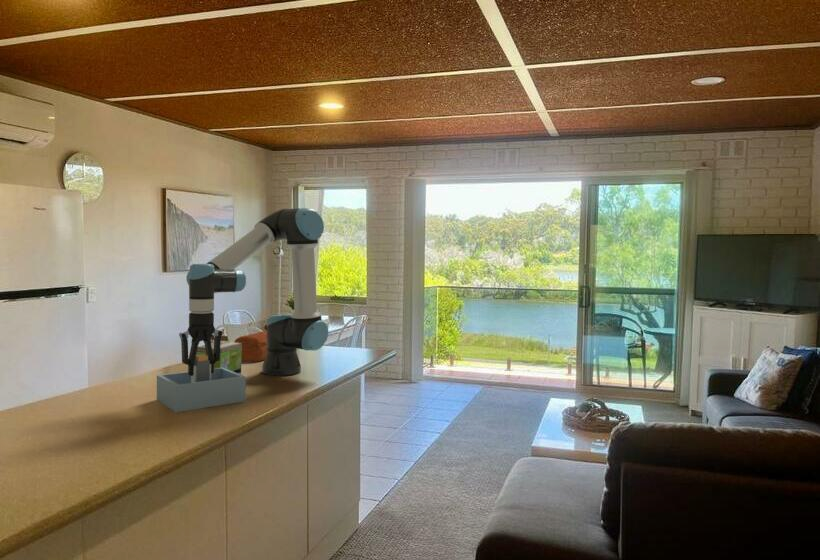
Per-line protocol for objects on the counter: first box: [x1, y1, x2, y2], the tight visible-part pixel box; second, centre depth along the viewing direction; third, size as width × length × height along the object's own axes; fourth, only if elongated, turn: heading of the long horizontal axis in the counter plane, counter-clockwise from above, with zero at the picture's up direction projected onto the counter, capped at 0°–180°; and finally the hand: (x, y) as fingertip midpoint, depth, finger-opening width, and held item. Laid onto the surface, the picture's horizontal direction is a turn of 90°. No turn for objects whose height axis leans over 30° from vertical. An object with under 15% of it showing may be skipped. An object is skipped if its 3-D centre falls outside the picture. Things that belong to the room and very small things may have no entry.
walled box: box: [156, 367, 247, 413], centre depth 190 cm, size 22×18×8 cm
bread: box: [234, 330, 267, 363], centre depth 269 cm, size 16×27×11 cm, turn 162°
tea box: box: [196, 341, 242, 375], centre depth 212 cm, size 15×10×15 cm, turn 167°
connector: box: [194, 354, 210, 382], centre depth 190 cm, size 4×4×10 cm
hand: (201, 384), depth 190 cm, fingers closed on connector, 4 cm apart
